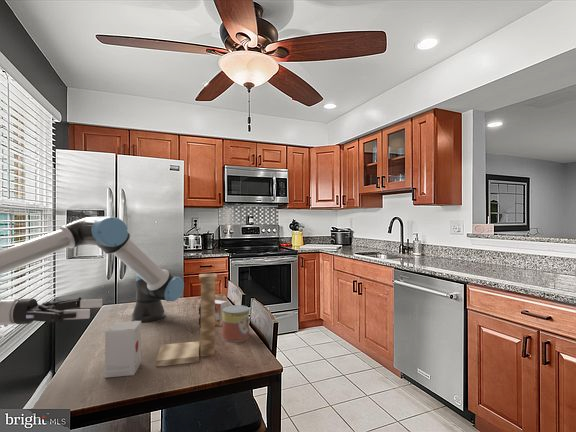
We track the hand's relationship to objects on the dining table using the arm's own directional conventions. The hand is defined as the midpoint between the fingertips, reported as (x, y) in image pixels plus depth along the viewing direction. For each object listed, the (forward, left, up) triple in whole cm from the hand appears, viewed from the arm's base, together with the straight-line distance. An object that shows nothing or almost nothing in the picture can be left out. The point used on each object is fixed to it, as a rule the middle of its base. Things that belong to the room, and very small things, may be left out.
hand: (96, 307), depth 103 cm
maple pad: (+13, +23, -21) cm, 34 cm away
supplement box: (+6, +6, -21) cm, 23 cm away
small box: (0, +57, -21) cm, 61 cm away
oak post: (+20, +30, -21) cm, 42 cm away
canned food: (+19, +48, -21) cm, 56 cm away
